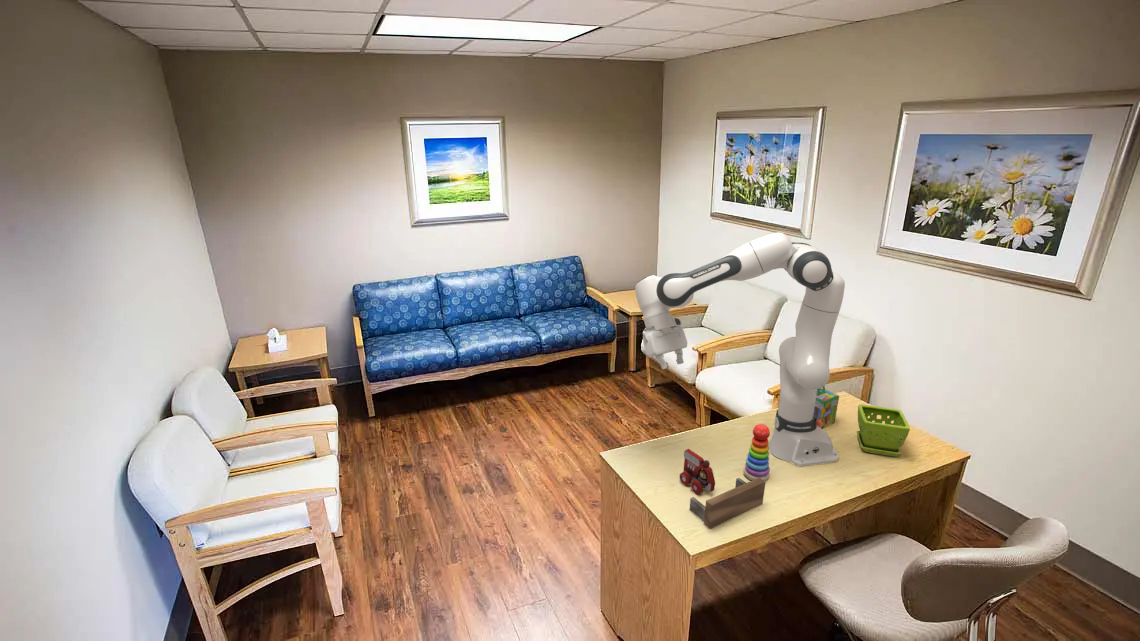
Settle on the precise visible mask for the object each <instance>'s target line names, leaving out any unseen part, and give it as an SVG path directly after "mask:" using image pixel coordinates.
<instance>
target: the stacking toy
mask: <svg viewBox="0 0 1140 641" xmlns="http://www.w3.org/2000/svg"><path fill="white" fill-rule="evenodd" d="M752 435H753V437H752V438H751V443H750V447H749V448H748V449H749V450H748V453H747V455H746V456H747V458H746V459H745V465H744V466H745V467H744V468H743V475H744V476H745V477H746V478H747V479H748V480H750V481H752V480H754V479H757V478H761V479H762V480H764V481H765V482H766V481H767V480H769V478H770V476H771V475H770V474H771V473H770V470H771V469H770V462H769V461H770V457H769V454H770V451H769V446H768V444H769V442H770V440H769V439H768V438H769V437H770V435H771V431H770V428H769V427H768V426H767V425H766V424H763V423H758V424H756V425H755V426H754V427H753V428H752Z"/></svg>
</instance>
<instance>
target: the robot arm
mask: <svg viewBox="0 0 1140 641" xmlns="http://www.w3.org/2000/svg"><path fill="white" fill-rule="evenodd" d="M777 269H784V270H785V272H787V274H788V276H790V277H791V278H792V279H793V280H794V281H796V282H797V283H798V284H800V285H801V286H804V287H805V294H804V296H803V300H802V302H801V305H800V309H799V312H798V314H797V315H798V316H797V318H796V322H795V324H794V326H795V336H790V337H787V338H785V339H784V340H783V341H782V342H781V343H780V345H779V347H778V356H779V380H780V381H779V385H780V389H779V399H778V407H777V409H776V412H775V418H774V430H773V433H772V435H771V438H770V440H769V443H768V446H769V453H771V454H772V455H774V456H775V457H777V458H778V459H781V460H783V461H787V462H789V463H791V464H793V465H795V466H797V467H806V466H815V465H822V464H830V463H836V462H837V463H838V462H839V459H840V455H839V453H838V451H837V449H836V448H835V447H834V445H833V442H832V439H831V437H830V436H829V434H828V433H827V431H826V430H824V428H820V427H822V426H823V425H824V424H823V422H822V421H821V420H818V418H817V417H816V416H815V415H814V414H813V413H814V407H815V400H816V393H815V390H816V389H819V388H821V389H822V387H823V386H824V385H825V386H826V385H827V384H828V382H829V380H830V377H831V376H830V375H831V373H830V356H831V355H830V353H831V345H832V338H833V332H834V329H835V326H836V323H837V320H838V316H839V315H840V314H839V313H840V310H841V308H842V303H843V299H844V294H845V285H846V283H845V280H844V278H843V277H842V276H841V275H840V274H838V273H835V272H833V269H832V264H831V262H830V259H829V258H828V256H827V255H826V254H824V253H823V252H822V251H821V250H820V249H819V248H817V247H814V246H812V245H811V244H809V243H806V242H805V243H804V242H793V241H792V240H791V239H790V237H789V236H788V235H787V234H785V233H784V232H772V233H769V234H765V235H762V236H760V237H757V238H754V239H751V240H750V241H747V242H745V243H743V244H741V245H739V246H737V247H736V248H733V250H731V251H729V252H727V253H726V254H724V255H723V256H721V257H719V258H718V259H716V260H714V261H712V262H710V263H708V264H707V263H706V264H705V265H701V267H700V266H699V267H698V268H695V269H693V270H690V271H687V272H683V273H682V272H681V273H679V272H678V273H677V272H674V273H667V274H666V275H663V276H658V275H656V274H651V275H648V276H646V277H645V276H644V277H643V278H642V279H640V280H639V281H638V282H637V283H636V284H635V288H634V290H635V291H634V293H635V297H636V300H637V305H638V307H639V309H640V311H641V313H642V315H643V322H644V326H645V328H644V329H643V331H642V341H643V346H644V351H645V354H646V356H647V357H648V358H653V357H654V358H655V359H656V361H657V362H658V364H659V365H660V367H661V370H666V369H669V368H670V365H669V363H668V362H667V361H666V360H665V358H664V355H665V354H667V353H671V352H674V354H675V355H676V359H675V361H676V365H682V364H684V363H685V361H684V356H683V355H684V353H683V349H686V348H688V340H687V339H688V338H687V336H686V333H685V331H684V330H685V329H684V328H683V327H682V325H683V323H682V320H681V319H680V318H679V317H675V316H673V315H672V314H671V312H670V310H671V309H675V308H676V309H680V308H684V307H686V306H688V305H689V304H690V303H691V302H692V300H693V298H694V294H695V293H696V292H698V291H701V290H702V289H705V288H707V287H711V286H713V285H715V284H717V283H721V282H724V281H737V282H738V281H739V282H742V281H743V282H744V281H746V280H750V279H754V278H757V277H760V276H762V275H765V274H768V273H770V272H771V271H773V270H777Z"/></svg>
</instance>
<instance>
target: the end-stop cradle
mask: <svg viewBox="0 0 1140 641" xmlns="http://www.w3.org/2000/svg"><path fill="white" fill-rule="evenodd" d="M765 489H766V481H764V480H762V479H761V478H757V479H754V480H750V481H747V482H746V481H745V480H743V479H742V478H740V477H737V478H736V479H735V486H734V488H731V489H729V490H727V491H725V492H722V493H720V494H718V495H716V496H714V497H711V498H709V499H706V500H705V505H704V504H703V503H702V502H700V500H698V499H697V498H696V497H694V496H693V497H690V499H689V508H688V509H689V510H690V511H691V512H692V513H693V514H694V515H695V516H696V517H698V518H699V519H700V520H701V521H702V522H703V525H704V526H706V527H707V529H709V530H711V529H714V528H715V527H717V526H719V525H723V523H726V522H728V521H730V520H732V519H734V518H736V517H738V516H740V515H743V514H745V513H747V512H749V511H752V510H754V509H756V508H758V507H760V506H762V505H763V503H764V496H765Z"/></svg>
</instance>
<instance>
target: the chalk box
mask: <svg viewBox="0 0 1140 641" xmlns="http://www.w3.org/2000/svg"><path fill="white" fill-rule="evenodd" d="M815 393H816V400H815V407H814V413H813V414H814V415H815V416H816V417H817V418H818V420H821V421H822V422H823V424H824V425H823V426H822V427H820V428H822V429H825V428H827V427H828V426H830V425H833V424H835V422H836V418H837V412H838V411H837V410H838V404H839V400H840V395H838V394H836V393H833V392H831V391H830V390H827V389H826V384H825V385H824V386H823V387H821V388H819V389H816V390H815Z"/></svg>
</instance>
